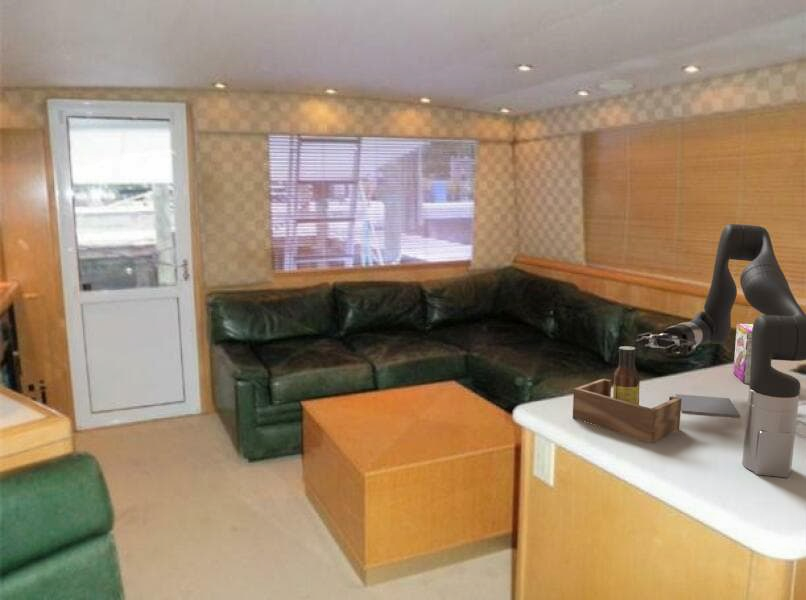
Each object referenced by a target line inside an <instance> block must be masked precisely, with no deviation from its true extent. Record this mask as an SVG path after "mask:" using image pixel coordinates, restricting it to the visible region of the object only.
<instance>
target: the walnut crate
mask: <svg viewBox="0 0 806 600" xmlns="http://www.w3.org/2000/svg"><path fill="white" fill-rule="evenodd" d="M611 392H612V380H611V379H608V378H603V377H602V378H600V379H598V380H595V381H592V382H589V383H587V384H583V385H581V386H578V387H575V388H573V399H572V400H573V401H572V419H574V418H575V420H577V419H579V421H580V420H582V422H584V421H586V422H585V423H587V422H589V423H588V424H590V423H592V424H591V425H593V424H595V425H594V426H596V425H597V427H599V426H600V427H599V428H602V427H603V429H605V428H607V429H606V430H608V429H610V430H609V431H611V430H613V431H612V432H614V431H616V432H615V433H617V432H619V433H618V434H621V433H622V434H621V435H624V436H627V437H630V438H633V439H636V440H639V441H643V442H646V443H648V444H653V443H655V442H657V441H659V440H660V439H661V440H662V438H664V437H667V436H669V435H670V434H672V433H675V432H676V431H679V430H680V423H681V413H682V412H681V398H677V397H675V396H673V395H670V396H669V398H668V400H667V401H665V402H663V403H661V404H658V405H657V406H653V407H652V408H650V407H647V406H642V405H641V404H639V405H637V404H633V403H629V402H626V401H622V400H619V399H615V398H613V396H611V395H612V394H611Z"/></svg>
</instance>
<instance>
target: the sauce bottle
mask: <svg viewBox="0 0 806 600" xmlns="http://www.w3.org/2000/svg"><path fill="white" fill-rule="evenodd" d="M636 349H637V348H636V347H634V346H629V345H628V346H627V345H624V346H623V345H622V346H619V347H618V354H619V356H618V358H619V359H618V360H619V361H618V366H617V368H616V369H615V371H614V374H613V387H612V389H613V392H612V393H613V394H612V395H613V396H612V398H615V399H619V400H622V401H626V402H629V403H633V404H637V405H640V377H639V376H640V375H639V373H638V370H637V366H636V354H637V351H636Z"/></svg>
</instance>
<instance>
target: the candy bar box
mask: <svg viewBox="0 0 806 600" xmlns="http://www.w3.org/2000/svg"><path fill="white" fill-rule="evenodd" d="M753 324H754V323H753ZM753 324H752V323H737V324H736V330H735V331H736V332H735V344H734V345H735V347H734V348H735V349H734V358H733V359H734V360H733V371H732V374H734V375H735V376H736V377H737V379H739V381H741V382H742V384H746V385H747V384H748V385H750V367H751V347H752V329H753Z"/></svg>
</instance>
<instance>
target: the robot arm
mask: <svg viewBox="0 0 806 600" xmlns="http://www.w3.org/2000/svg"><path fill="white" fill-rule="evenodd" d="M730 260H734V261H745V262H749V263H748V264H747V265H746V266H745V267H744V269H742V272H741V275H740V278H739V284H740V287H741V290H742V292H743V296H744V298H745V300H746V302H747V303H748V304H749V305H750V306H751V307H752V308H754V309H755V310H756V311H758V312H759V313H761V315H758V316H757V317H756V318H755V319H754V321H753V329H752V347H751V367H750V384H748V385H749V387H748V395H747V396H748V397H747V406H746V415H745V417H746V418H745V428H744V438H743V439H744V440H743V449H742V451H743V452H742V461H741V462H742V463H741V464H742V465H743V467H744V468H745V469H748V470H749V471H751V472H753V473H754V474H755V475H760V476H771V477H778V478H779V477H780V478H789V475H790V474H791V473H792V467H793V459H794V448H795V439H796V427H797V420H798V419H797V418H798V410H799V402H800V393H801V382H800V381H799V379H798V378H796V377H795V376H792V375H790V374H788V373H785V372H782V371H780V370H777V369H776V368H774V367H773V366H772V361H789V362H799V361H801V362H802V361H806V313H805V312H804V310H803V308H802V307H801V306H800V305H799V303H798V301H797V300H796V298H795V296H794V294H793V292H792V290H791V288H790V285H789V282H788V280H787V279H786V275H785V274H784V272H783V270H782V268H781V266H780V265H779V262H778V260H777V257H776V255H775V251H774V247H773V243H772V240H771V236H770V234H769V231H768V230H767V228H765V227H763V226H758V225H752V224H751V225H750V224H741V223H740V224H739V223H730V224H727V225H726V226H724V228H723V229H722V231H721V234H720V237H719V241H718V245H717V250H716V256H715V261H714V266H713V273H712V279H711V284H710V287H709V290H708V293H707V297H706V298H705V299H706V300H705V302H704V305H703V309H704V311H703V310H702V311H699V312H698V313H696V314H695V315H694V317H693V318H692V319H691V320H690V321H686V322H685V321H684V322H680V323H676V324H675V325H672V326H669V327H666V328H665V329H664V330H663V332H662V333H659V334H658V333H657V334H653V332H652V331H647V332H644V333H640V334H637V335H636V340H635V342H634V346H635V349H641V348H644V347H650V348H654V349H655V348H656V349H657V348H658V349H659V348H661V349H665V355H666V356H671V355H673V354H681V353H682V354H683V355H689V354H691V353H693V352H695V351H696V348H697V346H699V345H702V344H704V343H705V342H709V343H711V344H714V345H720V344H722V343H724V342H725V341H726V340H727V339H728V337H730V333H731V330H732V320H731V319H732V309H733V307H734V304H735V302H736V299H737V295H738V289H737V288H738V287H737V285H736V282H735V280H734V278H733V276H732V274H731V271H730V268H729V262H730ZM762 314H763V315H762Z"/></svg>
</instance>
